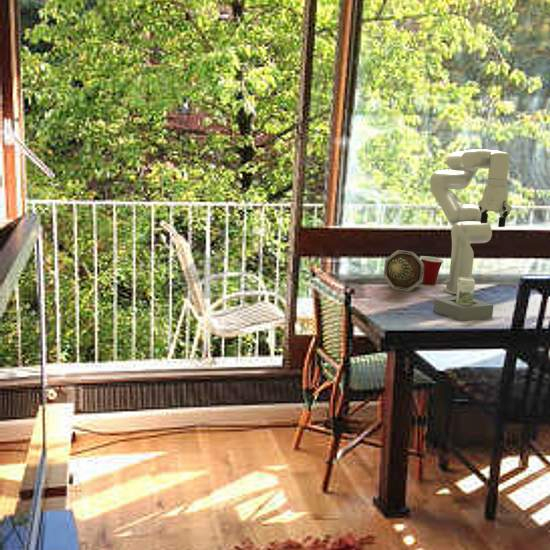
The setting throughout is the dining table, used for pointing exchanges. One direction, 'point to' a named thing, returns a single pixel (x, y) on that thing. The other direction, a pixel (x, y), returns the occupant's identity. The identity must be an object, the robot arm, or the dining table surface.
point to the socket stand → (463, 309)
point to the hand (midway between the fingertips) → (492, 225)
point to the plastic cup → (431, 269)
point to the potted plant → (403, 270)
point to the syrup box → (465, 290)
